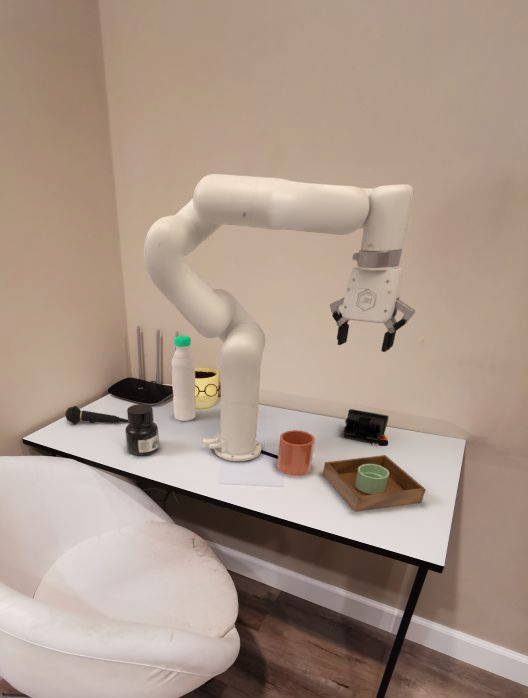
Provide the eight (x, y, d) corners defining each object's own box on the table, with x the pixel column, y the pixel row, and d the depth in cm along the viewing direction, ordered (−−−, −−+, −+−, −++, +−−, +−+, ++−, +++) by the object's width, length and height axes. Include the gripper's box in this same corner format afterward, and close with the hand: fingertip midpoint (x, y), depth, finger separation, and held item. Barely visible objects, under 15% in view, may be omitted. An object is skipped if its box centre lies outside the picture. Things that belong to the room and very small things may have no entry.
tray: (354, 512, 91) (358, 498, 89) (322, 475, 104) (325, 462, 102) (421, 503, 93) (426, 489, 91) (381, 468, 106) (385, 454, 104)
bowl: (363, 497, 95) (367, 480, 93) (349, 482, 101) (352, 465, 98) (390, 493, 96) (395, 476, 94) (374, 478, 101) (379, 462, 99)
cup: (284, 478, 104) (287, 447, 99) (272, 462, 111) (275, 432, 106) (315, 474, 105) (320, 443, 100) (302, 458, 111) (306, 428, 107)
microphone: (129, 428, 138) (67, 422, 139) (130, 410, 137) (68, 404, 137) (126, 431, 133) (62, 424, 134) (128, 412, 132) (63, 405, 132)
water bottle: (172, 413, 140) (169, 334, 126) (194, 411, 140) (193, 332, 126) (174, 422, 134) (171, 340, 120) (197, 420, 134) (196, 339, 120)
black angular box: (384, 434, 120) (390, 412, 117) (379, 445, 115) (384, 422, 112) (347, 427, 125) (351, 405, 121) (340, 437, 120) (345, 414, 117)
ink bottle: (146, 460, 115) (142, 418, 108) (120, 452, 119) (115, 412, 112) (166, 444, 122) (163, 405, 115) (140, 438, 126) (137, 399, 119)
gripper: (328, 261, 88) (318, 345, 98) (419, 263, 78) (397, 357, 87) (345, 256, 93) (333, 337, 102) (432, 258, 82) (411, 348, 91)
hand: (363, 346), depth 95 cm, fingers open, 9 cm apart
